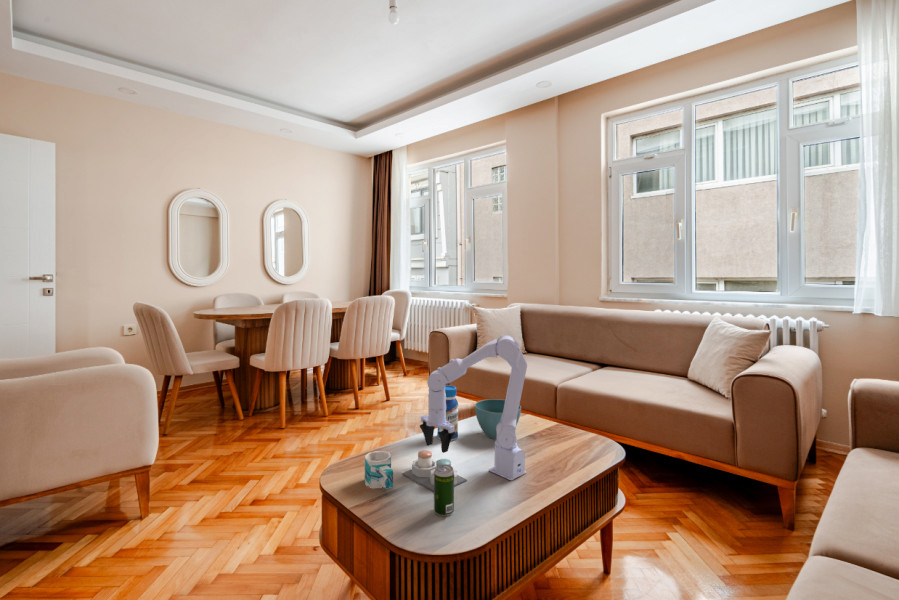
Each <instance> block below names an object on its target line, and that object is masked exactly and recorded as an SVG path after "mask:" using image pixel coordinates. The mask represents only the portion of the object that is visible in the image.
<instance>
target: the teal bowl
mask: <svg viewBox="0 0 899 600" xmlns="http://www.w3.org/2000/svg"><path fill="white" fill-rule="evenodd" d="M504 404H505V399H498V398H497V399H496V398H495V399H494V398H493V399H492V398H491V399H490V398H489V399H488V398H487V399H482V400H479V401H477V402H475V404H474V410H475V416H476V419H477V423H478V425H479V427H480V429H481V430H482V432H483V433H484V435H485V436H487V438H488V439H492V440H496V437H497V432H496V426H497V424H498V423H499V422H500V420H501V416H502V413H503V409H504ZM521 413H522V406H521V405H520V404H519V409H518V414H517V419H516V426H518V423H519V420H520V416H521Z"/></svg>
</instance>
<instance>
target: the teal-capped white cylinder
mask: <svg viewBox="0 0 899 600" xmlns="http://www.w3.org/2000/svg"><path fill="white" fill-rule="evenodd" d="M436 461H437V462H436V467H437V466H439V465H450V466H452V461H451V460H450V459H447V458H441V459H438V460H436Z"/></svg>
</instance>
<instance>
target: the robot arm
mask: <svg viewBox="0 0 899 600" xmlns="http://www.w3.org/2000/svg"><path fill="white" fill-rule="evenodd" d="M498 356H499V357H500V358H502V359H503V360H505V361H506V362H507V363H508V365H509V366H510V367H511V369H510V376H509V379H508V385H507V390H506V395H505V399H504V400H505V404H504V409H503V413H502V416H501V420H500V422H499V423H498V424H497V426H496V432H497V437H496V439H495V441H494V463H493V464H494V466H492V467H490V468H488V471H489V472H491V473H493V474H496V475H498V476H501V477H502V478H504V479H507V480H509V481H513V480H515V479H517V478H519V477H520V476H523V475H525V474H526V473H527V471H526V470H525V469H526V466H525V465H526V463H525V462H526V461H525V460H526V456H525V452H524V450H523V449H521V448H520V447H519V446H518V442H517V434H516V430H517V429H516V428H517V425H516V419H517V414H518V409H519V405H520V404H521V403H520V402H521V398H522V393H523V388H524V384H525V378H526V373H527V368H528V364H527V361H526V359H525V356H524V354H523V352H522V350H521V348H520V345H519V343H518V342H517V341H516V340H515V338H513V337H512V336H511V335H507V334H503V335H500V337H498V338H495V339H493V340H491V341H489V342H487V343H485V344H484V345H482V346H481V347H480V348H478V349H476V350H474V351H473V352H471V353H470V354H469V355H467V356H465V357H464V358H459V357H458V358H455V359H454V358H451V359H449V362H448V363H447V364H445V365H443V366H442V367H440V366H439V367H437V370H433V371H432V372H431V373H430V374H429V376H428V377H427V384H426V385H427V387H428V394H427V395H428V401H427V402H428V406H427V407H428V410H427V411H428V412H427V413H428V415H426V414H424V415H421V416H420V422H421V423H422V424H420V425H419V428H420V430H421V431H422V434H423V436H424V441H425V444H426V446H428V447H429V446H431V445H433V443H434V432H435V428H437V429H438V428H441V429H443V431H441V432H438V431H437V432H438V434H439V436H440V439H439V440H440V446H441V453H443V454H444V453H447V452H448V451H449V448H450V445H451V439H452V437H453V435H454V433H455V426H454V425H452V424H450V423H449V422H448V421H446V394H445V386H446V385H447V384H450V383H453V382H455V380H458V379H459V378H461V377H462V376H464V375H466V374H467V370H468V368H470V367H472V366H474V365H475V364H477V363H479V362H481V361H483V360H484V359H486V358H498Z"/></svg>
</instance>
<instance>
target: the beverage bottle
mask: <svg viewBox="0 0 899 600" xmlns="http://www.w3.org/2000/svg"><path fill="white" fill-rule="evenodd" d="M457 393H458V391H457V387H456V386H454V385H447V384H446V385H445V394H446V421H448V422H449V423H450V424H452V425H454V426H455V433H454V435H453V437H452V439H451V441H456V440H457V439H458V437H459V432H458V431H459V429H458V427H459V408H458V407H459V402H458V400H457V398H456V396H457ZM441 431H443V429H441V428H438V427H437V434H436V435H437V436H436V437H437V438H438V440H440V436H439V434H438V432H441ZM451 441H450V442H451Z"/></svg>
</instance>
